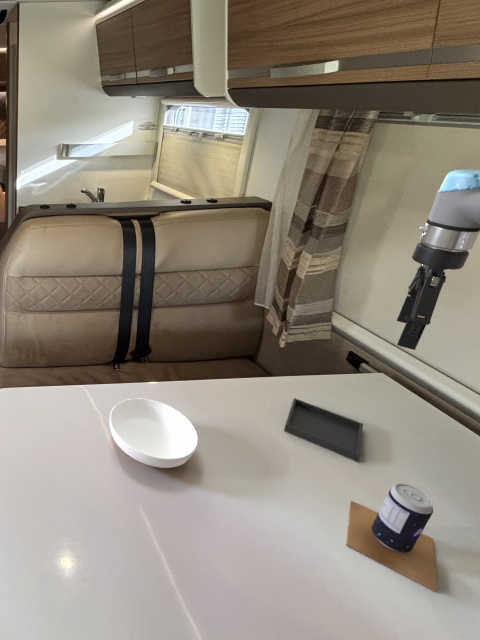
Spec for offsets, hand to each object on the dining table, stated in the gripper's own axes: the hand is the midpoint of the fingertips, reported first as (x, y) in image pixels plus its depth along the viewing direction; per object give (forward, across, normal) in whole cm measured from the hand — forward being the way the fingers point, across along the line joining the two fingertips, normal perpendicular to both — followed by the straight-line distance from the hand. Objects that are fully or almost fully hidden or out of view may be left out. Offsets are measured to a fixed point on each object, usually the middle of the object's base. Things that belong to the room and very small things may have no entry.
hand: (405, 334), depth 96 cm
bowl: (+29, +40, -38) cm, 62 cm away
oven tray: (+29, +6, -8) cm, 30 cm away
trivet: (+29, +33, +5) cm, 44 cm away
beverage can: (+28, +33, +5) cm, 44 cm away
